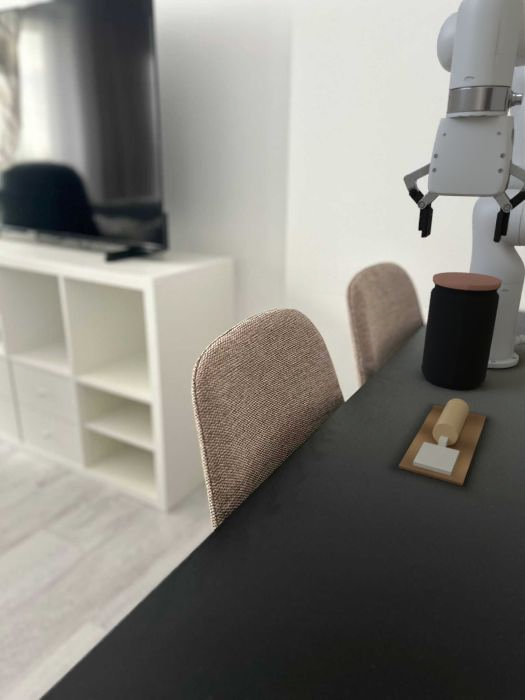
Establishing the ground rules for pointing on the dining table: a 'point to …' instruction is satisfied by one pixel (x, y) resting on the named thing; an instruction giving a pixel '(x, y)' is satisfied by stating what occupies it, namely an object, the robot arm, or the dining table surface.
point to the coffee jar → (460, 329)
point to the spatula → (444, 439)
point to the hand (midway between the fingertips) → (460, 238)
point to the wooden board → (463, 444)
